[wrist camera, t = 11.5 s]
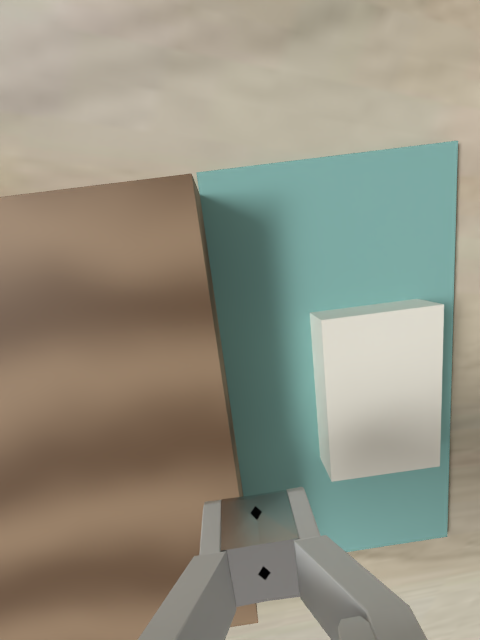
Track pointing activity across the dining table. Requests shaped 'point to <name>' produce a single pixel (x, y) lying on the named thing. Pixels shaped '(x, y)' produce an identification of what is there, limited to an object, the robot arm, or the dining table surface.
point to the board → (107, 406)
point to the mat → (320, 295)
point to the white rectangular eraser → (378, 387)
